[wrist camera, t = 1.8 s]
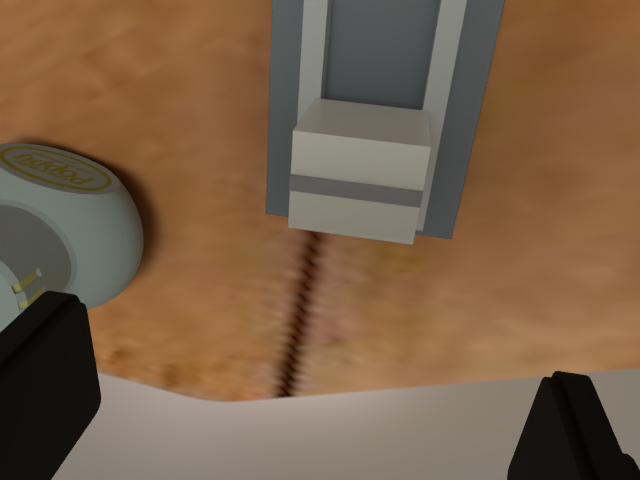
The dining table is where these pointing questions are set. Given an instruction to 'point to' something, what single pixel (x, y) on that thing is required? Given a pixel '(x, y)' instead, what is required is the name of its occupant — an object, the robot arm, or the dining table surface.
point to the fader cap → (359, 170)
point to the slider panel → (384, 81)
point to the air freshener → (63, 229)
